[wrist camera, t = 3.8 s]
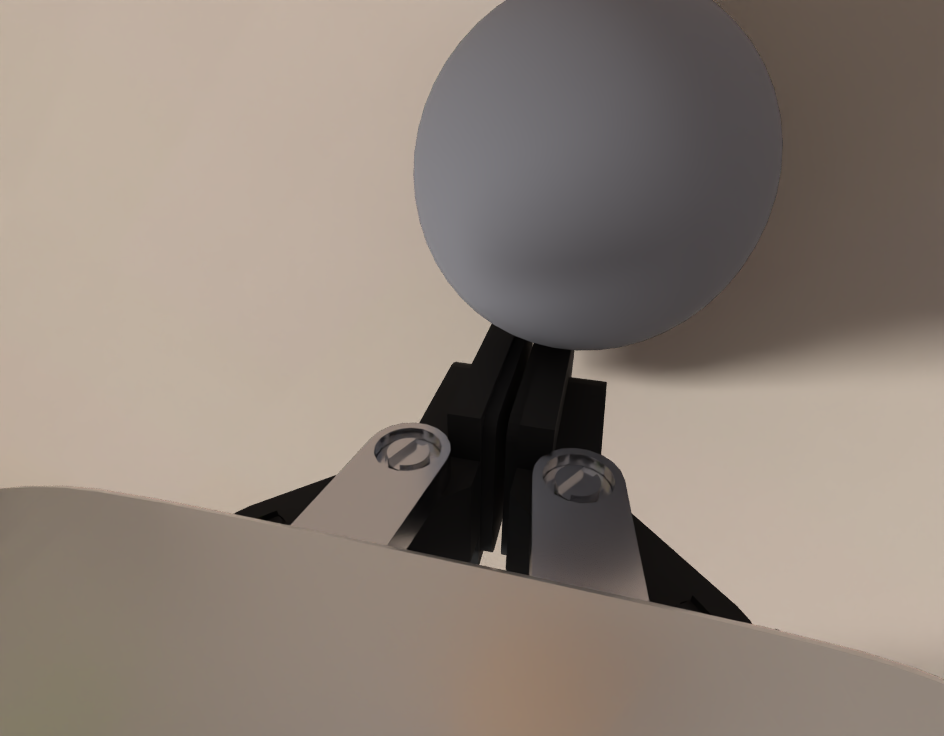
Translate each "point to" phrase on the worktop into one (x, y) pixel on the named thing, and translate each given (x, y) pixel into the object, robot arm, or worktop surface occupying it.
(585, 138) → the grey sphere
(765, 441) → the worktop surface
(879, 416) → the worktop surface
